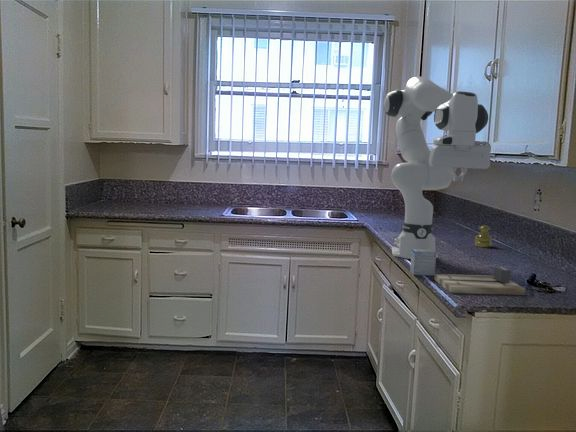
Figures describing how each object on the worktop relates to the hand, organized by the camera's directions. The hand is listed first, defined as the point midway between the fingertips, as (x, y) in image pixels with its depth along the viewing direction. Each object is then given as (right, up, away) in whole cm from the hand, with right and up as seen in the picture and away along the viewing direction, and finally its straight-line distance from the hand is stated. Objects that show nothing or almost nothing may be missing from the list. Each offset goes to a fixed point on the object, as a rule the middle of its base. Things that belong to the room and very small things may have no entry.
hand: (457, 181), depth 175 cm
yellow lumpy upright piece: (+35, -26, +69) cm, 82 cm away
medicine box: (-10, -33, +9) cm, 36 cm away
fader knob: (+13, -33, -5) cm, 36 cm away
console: (+5, -35, -5) cm, 36 cm away
